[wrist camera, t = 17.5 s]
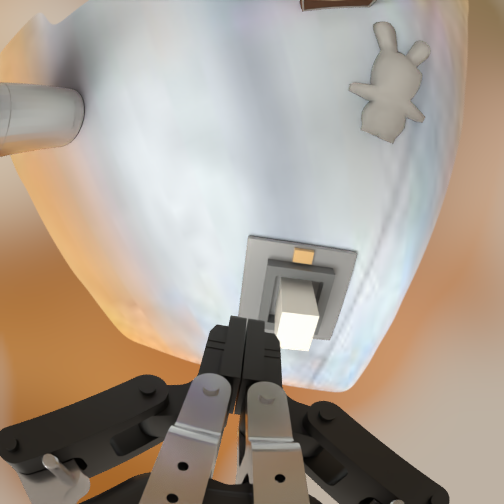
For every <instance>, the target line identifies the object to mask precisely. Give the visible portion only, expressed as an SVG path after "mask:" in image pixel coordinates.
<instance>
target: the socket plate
mask: <svg viewBox="0 0 504 504" xmlns="http://www.w3.org/2000/svg"><path fill="white" fill-rule="evenodd" d="M356 257H357V254H356V252H353V251H347V250H341V249H334V248H328V247H321V246H315V245H308V244H302V243H295V242H289V241H282V240H275V239H268V238H262V237H255V236H248V241H247V249H246V257H245V265H244V273H243V281H242V289H241V298H240V306H239V314H238V317H243V318H247V322H248V318H250V319H256V320H263V321H265V332H267V333H274V331H275V306H276V301H277V296H278V291H279V285H280V280H281V277H286V278H294V279H301V280H309V281H312V286H313V290H314V294H315V299H316V303H317V308H318V312H319V319H318V322H317V326H316V329H315V332H314V335H313V338H312V339H321V340H330V338H331V336H332V333H333V330H334V327H335V324H336V322H337V319H338V316H339V313H340V310H341V307H342V304H343V301H344V298H345V294H346V291H347V288H348V285H349V281H350V278H351V275H352V271H353V268H354V264H355V261H356ZM246 327H247V323H246Z"/></svg>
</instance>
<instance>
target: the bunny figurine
mask: <svg viewBox="0 0 504 504" xmlns="http://www.w3.org/2000/svg"><path fill="white" fill-rule="evenodd" d="M373 30H374V33H375V35H376V38H377V41H378V44H379V47H380V50H381V51H380V53H379V54H378V56H377V58H376V60H375V62H374V64H373V67H372V71H371V80H370V83H371V85H369V84H362V83H351V84H349V91H351V92H353V93H355V94H357V95H359V96H360V97H362V98H364V99H366V100H368V101H369V102H368V104H367V105H366V106H365V107H364V109H363V111H362V115H361V121H362V127H361V130H362V131H364V132H367V133H369V134H372V135H375V136H377V137H378V138H381V139H383V140H385V141H387V142H390V143H394V140H395V139H396V138H397V136H398V135H399V134H400V133H401V132H402V130H403V129H404V127H405V121H406V120H405V117H406V118H408V119H411V120H413V121H416V122H422V123H423V121H424V119H425V116H424V115H423V114H422V113H421V112H420V111H419V110H418V109H417V108H416V106H415V105H414V104H413V103H412V102H411V101H410V100H411V99H412V98H413V97H414V96H415V94H416V93H417V91H418V89H419V86H420V83H421V79H422V73H421V72H420V71H419V70H418V69H417V68H416V67H417V66H418V65H420V64H421V63H422V62H423V61H425V60H426V59H427V58H428V56H429V54H430V51H431V50H430V47H429V45H428V44H427V43H426V42H423V41H417V42H415V43H414V45H413V46H412V48H411V49H410V51H409V52H408V53H407V55H406V56H405V55H403V54H402V53H400V52H398V50H397V41H396V32H395V29H394V27H393V26H392V25H391V24H390V23H388V22H376V23H375V24H374V25H373Z"/></svg>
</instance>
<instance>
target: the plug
mask: <svg viewBox="0 0 504 504" xmlns="http://www.w3.org/2000/svg"><path fill="white" fill-rule="evenodd" d="M318 319H319V312H318V308H317V303H316V299H315V294H314V290H313V286H312V281H309V280H301V279H294V278H286V277H281V280H280V285H279V291H278V296H277V301H276V306H275V331H274V334H275V335H276V336H277V338H278V340H279V341H280V348H284V349H293V350H303V351H309V348H310V345H311V342H312V338H313V335H314V332H315V329H316V326H317V322H318Z"/></svg>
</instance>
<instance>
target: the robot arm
mask: <svg viewBox="0 0 504 504" xmlns="http://www.w3.org/2000/svg"><path fill="white" fill-rule="evenodd" d="M83 116H84V104H83V100H82V97H81V96H80V94H79V93H78V92H77V91H76V90H73V89H69V88H61V87H54V86H45V85H35V84H23V83H2V82H1V83H0V157H2V156H7V155H12V154H17V153H23V152H28V151H34V150H40V149H48V148H55V147H62V146H65V145H67V144H69V143H70V142H71V141H72V140H73V139H74V138H75V137H76V135H77V134H78V132H79V130H80V128H81V124H82V121H83ZM246 323H247V327H246ZM235 401H236V405H235ZM234 406H235V414H238V415H240V421H239V426H238V431H237V475H236V484H235V485H227V484H223V483H221V482H218V481H216V480H213V479H212V476H213V472H214V467H215V463H216V459H217V455H218V451H219V447H220V443H221V439H222V435H223V431H224V428H225V426H226V424H227V419H228V415H229V413H231V414H232V413H233V410H234ZM163 441H164V442H163ZM160 442H163V444H162V447H161V450H160V452H159V454H158V457H157V459H156V462H155V464H154V467H153V470H152V472H151V473H144V474H140V475H137V476H134V477H132V478H130V479H128V480H126V481H124V482H122V483H120V484H119V485H117V486H115V487H113V488H111V489H109V490H107V491H105V492H103V493H101V494H99V495H97V496H95V497H93V498H91V499H88V500H86V501H84V502H82V503H79V504H322V503H321V502H320V501H318V500H317V499H316V498H314V497H312V496H311V495H309V494H308V489H307V482H306V475H305V473H306V474H307V475H308V476H309V477H311V478H312V480H314V481H315V482H316V483H317V484H318V485H319V486H320V487H321V488H322V489H323V490H324V491H325V492H327V493H328V494H329V495H330V496H331V497H332V498H333V499H335V500H336V501H337V502H338V503H339V504H449V495H448V493H447V491H446V490H445V489H444V488H443V487H441V486H440V485H438V484H437V483H435V482H434V481H433V480H431V479H430V478H428V477H427V476H426V475H424V474H423V473H421V472H420V471H419V470H417V469H416V468H414V467H413V466H412V465H411V464H409V463H408V462H407V461H405V460H404V459H403V458H401V457H400V456H399V455H397V454H396V453H395V452H394V451H392V450H391V449H390V448H388V447H387V446H386V445H385V444H383V443H382V442H381V441H379V440H378V439H377V438H376V437H375V436H373V435H372V434H371V433H370V432H368V431H367V430H366V429H365V428H363V427H362V426H361V425H360V424H359V423H357V422H356V421H355V420H354V419H353V418H351V417H350V416H349V415H348V414H347V413H346V412H344V411H343V410H342V409H341V408H340V407H338V406H337V405H335V404H334V403H331V402H327V401H319V402H316V403H314V404H312V405H311V406H308V405H305V404H302V403H299V402H296V401H294V400H292V399H291V398H289V397H288V396H287V395H286V393H285V391H284V390H283V388H282V373H281V353H280V341H279V340H278V338H277V336H276V335H275V334H274V333H267V332H265V321H263V320H256V319H250V318H248V322H247V318H243V317H237V316H231V317H230V322H229V327H228V326H223V325H216V326H215V327H214V328H213V329H212V330H211V331H210V333H209V337H208V341H207V344H206V348H205V351H204V355H203V358H202V362H201V366H200V370H199V373H198V375H197V377H196V378H195V379H194V380H193V381H191V382H189V383H187V384H183V385H166V383H165V382H164V381H163V380H162V379H161V378H159V377H157V376H153V375H141V376H138V377H135V378H133V379H131V380H129V381H126V382H124V383H122V384H120V385H117V386H115V387H113V388H110V389H108V390H106V391H103V392H101V393H99V394H96V395H94V396H91V397H89V398H87V399H84V400H82V401H79V402H76V403H74V404H71V405H69V406H66V407H64V408H61V409H58V410H56V411H53V412H50V413H48V414H45V415H42V416H39V417H36V418H33V419H31V420H27V421H24V422H21V423H19V424H15V425H12V426H9V427H6V428H4V429H2V430H1V431H0V456H1V457H2V458H3V459H4V460H5V461H6V462H7V463H8V464H10V465H11V466H12V468H13V469H14V470H15V471H16V472H17V473H18V475H19V477H20V480H21V482H22V484H23V486H24V489H25V491H26V493H27V495H28V497H29V499H30V500H31V502H32V504H76V503H77V501H78V500H79V499H80V498H81V497H83V496H84V495H86V494H87V492H88V491H89V488H90V481H89V478H91V477H93V476H95V475H97V474H100V473H102V472H104V471H107V470H109V469H111V468H113V467H115V466H117V465H119V464H121V463H123V462H125V461H127V460H129V459H131V458H133V457H135V456H137V455H139V454H141V453H143V452H144V451H146V450H148V449H150V448H152V447H154V446H155V445H157V444H159V443H160Z"/></svg>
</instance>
